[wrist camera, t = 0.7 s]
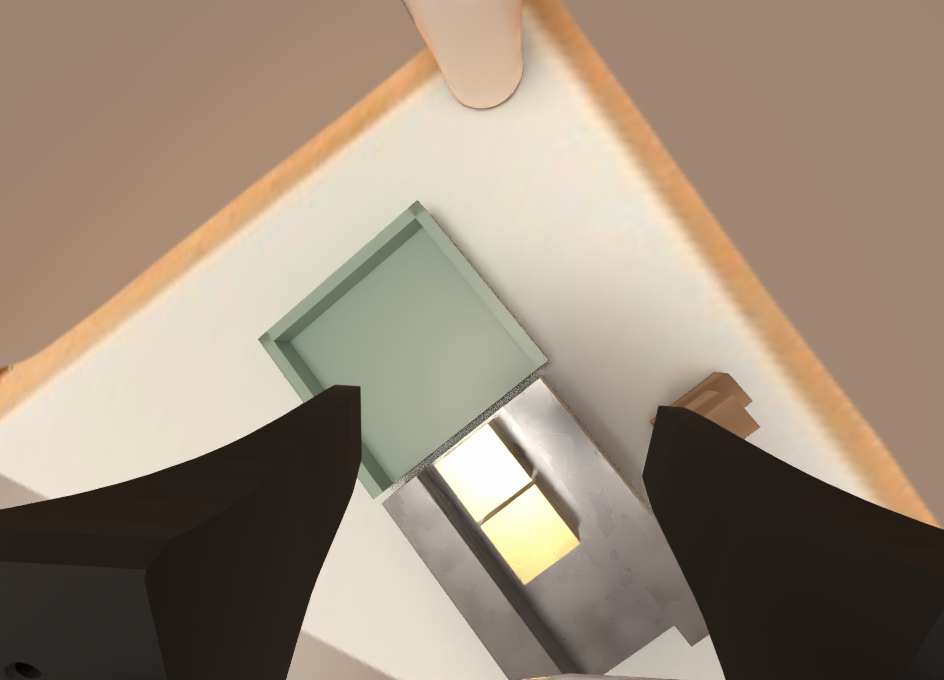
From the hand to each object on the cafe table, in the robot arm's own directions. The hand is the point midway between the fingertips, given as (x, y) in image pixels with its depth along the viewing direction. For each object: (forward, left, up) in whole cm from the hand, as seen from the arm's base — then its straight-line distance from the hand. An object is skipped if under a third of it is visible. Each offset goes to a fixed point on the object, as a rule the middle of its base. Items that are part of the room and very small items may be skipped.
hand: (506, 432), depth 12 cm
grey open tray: (-8, +5, -21) cm, 23 cm away
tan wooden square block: (-2, +5, -19) cm, 20 cm away
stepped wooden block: (-7, -7, -21) cm, 23 cm away
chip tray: (+7, +5, -21) cm, 23 cm away
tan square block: (-6, +5, -19) cm, 20 cm away
